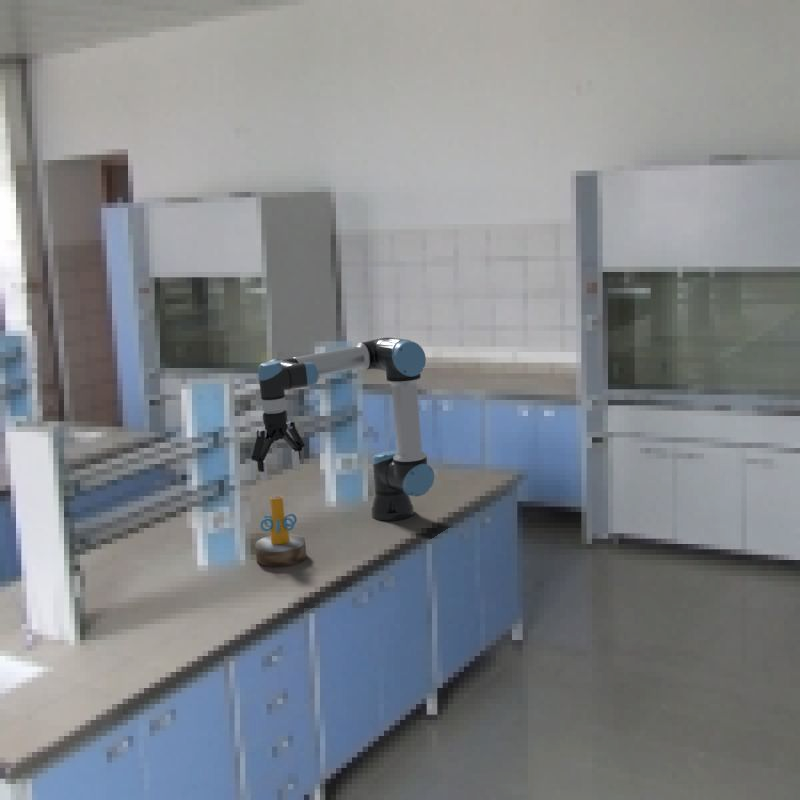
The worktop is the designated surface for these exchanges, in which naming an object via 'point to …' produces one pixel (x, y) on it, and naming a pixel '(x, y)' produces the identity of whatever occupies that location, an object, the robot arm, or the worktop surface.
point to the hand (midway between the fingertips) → (280, 475)
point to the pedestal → (280, 552)
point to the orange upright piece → (278, 522)
